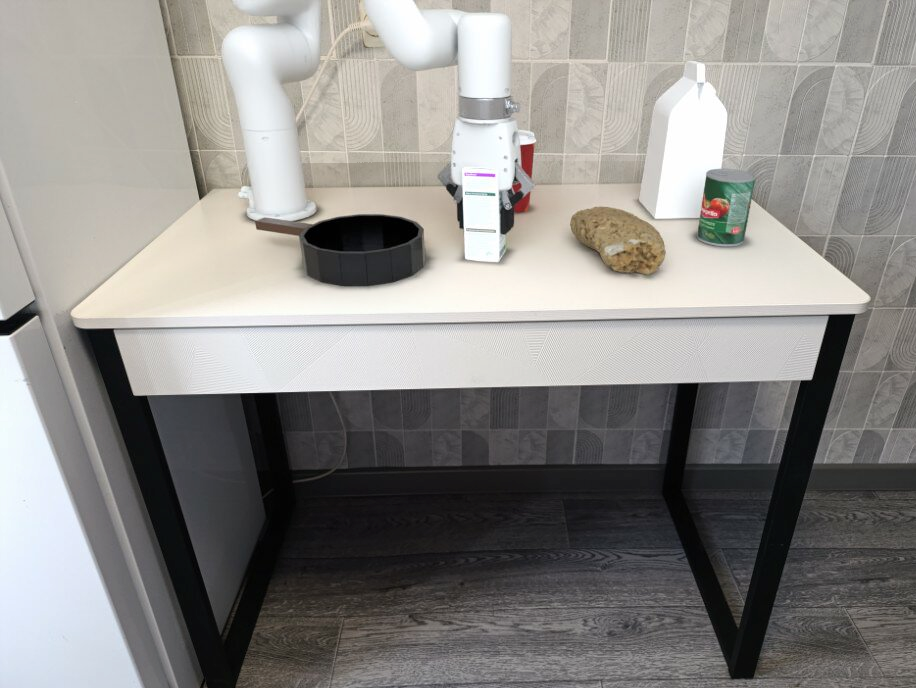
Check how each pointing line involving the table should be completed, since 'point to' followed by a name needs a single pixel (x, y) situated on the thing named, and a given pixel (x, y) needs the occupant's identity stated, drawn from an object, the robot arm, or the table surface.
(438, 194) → the table surface
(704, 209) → the canned tomato
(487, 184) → the syrup box
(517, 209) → the paper cup
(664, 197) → the milk
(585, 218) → the sponge
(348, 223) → the pan
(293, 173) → the robot arm
